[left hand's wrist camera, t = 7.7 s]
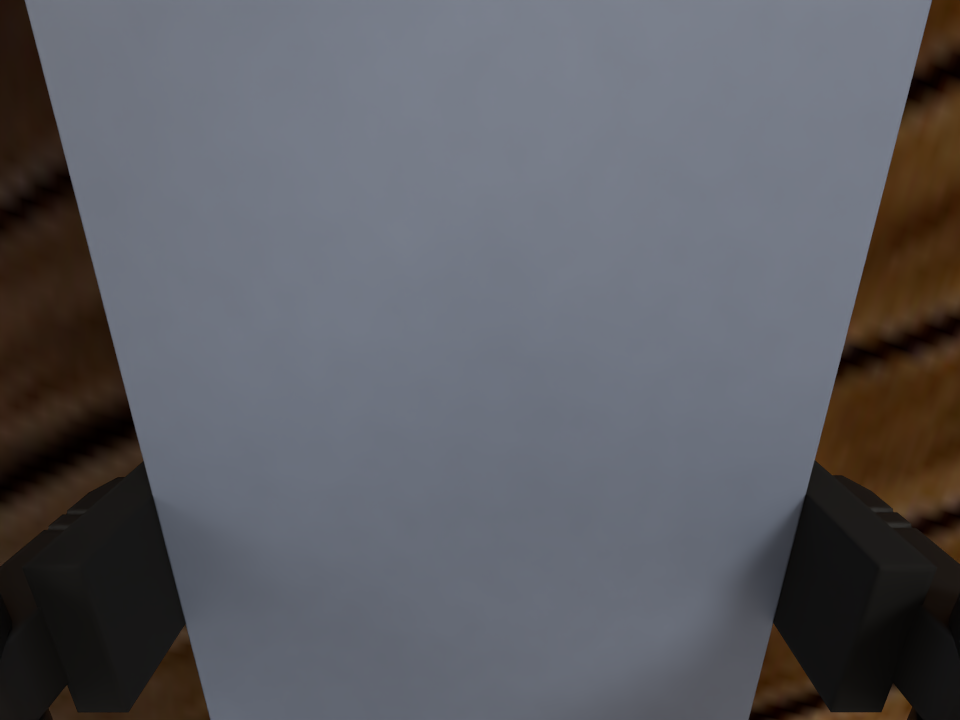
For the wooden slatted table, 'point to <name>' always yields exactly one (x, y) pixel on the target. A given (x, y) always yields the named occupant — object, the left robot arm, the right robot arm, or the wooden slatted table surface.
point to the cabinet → (478, 329)
